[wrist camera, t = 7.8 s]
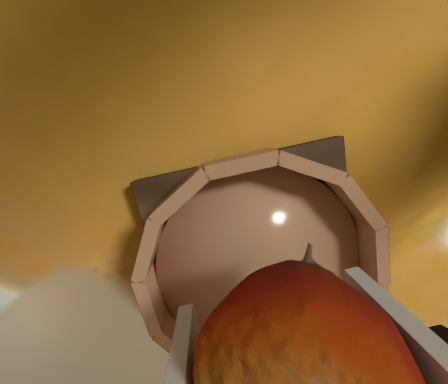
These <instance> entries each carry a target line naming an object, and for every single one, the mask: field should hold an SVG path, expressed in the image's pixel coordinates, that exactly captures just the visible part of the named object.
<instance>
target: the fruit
mask: <svg viewBox="0 0 448 384" xmlns="http://www.w3.org/2000/svg"><path fill="white" fill-rule="evenodd" d="M312 247H313V244H312V245H310V243H308V244H307V249H306V253H305V255H304V259H302V260H301V261H296V260H286V261H282V262H279V263H275V264H272V265H269V266H266V267H263V268H261V269H258V270H256V271H254V272H253V273H251V274H249V275H248V276H247V277H246V278H245V279H243V280H242V281H241V282H240V283H239V284H238V285H237V286H235V287H234V288H233V289H232V290H231V292H230V293H229V294H228V295H227V296H226V297H225V298H224V299H223V300H222V301H221V302H220V303H219V304H218V305H217V307H216V308H215V309H214V310H213V311H212V312H211V314H210V315H209V317H208V318H207V320H206V322H205V323H204V325H203V327H202V328H201V330H200V332H199V335H198V338H197V342H196V348H195V354H194V363H193V372H192V375H193V381H194V384H427V383H426V381H425V379H424V377H423V375H422V373H421V371H420V370H419V368H418V366H417V364H416V362H415V360H414V358H413V356H412V354H411V352H410V350H409V348H408V346H407V344H406V342H405V340H404V339H403V337H402V335H401V333H400V332H399V330H398V328H397V327H396V325H395V323H394V322H393V321H392V320H391V318H390V317H389V316H388V315H387V314H386V312H385V311H384V310H383V309H382V308H381V307H380V306H379V305H377V304H376V303H375V302H373V301H372V300H371V299H369V298H368V297H367V296H365V295H364V294H362V293H361V292H359V291H358V290H356V289H355V288H354V287H352V286H351V285H349V284H348V283H346V282H345V281H343V280H342V279H340V278H339V277H337V276H336V275H335V274H334V273H333V272H331V271H330V270H327V269H325V268H323V267H322V266H321V265H319V264H318V263H317V262H315V261H314V259H313V258H312Z"/></svg>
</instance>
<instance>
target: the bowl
mask: <svg viewBox="0 0 448 384" xmlns="http://www.w3.org/2000/svg"><path fill="white" fill-rule="evenodd" d="M311 176H312V177H315V178H318V179H320V180H321V181H322V182H323V183H324V184H323V183H321V182H319V181H318V180H316V179H314V178H312V177H311ZM169 217H170V218H169ZM168 218H169V220H168V221H167V223H166V225H165V222H166V220H167V219H168ZM386 225H387V222H386V221H385V220H384V219H383V217H382V216H381V215H380V213H379V212H378V211H377V209H376V208H375V207H374V205H373V204H372V203H371V201H370V200H369V199H368V197H367V196H366V195H365V193H364V192H363V191H362V189H361V188H360V187H359V185H358V184H357V183H356V181H355V180H354V179H353V178H352V176H351V175H350V174H348V173H347V172H344V171H341V170H338V169H335V168H332V167H329V166H326V165H323V164H320V163H317V162H314V161H311V160H308V159H305V158H302V157H299V156H296V155H293V154H290V153H287V152H284V151H282V150H276V149H271V148H265V149H260V150H256V151H251V152H247V153H242V154H238V155H233V156H229V157H224V158H220V159H215V160H210V161H206V162H205V164H204V163H202V164H201V165H200V166H199V167H198V168H197V169H196V170H195V171H194V172H193V173H191V174H190V175H189V176H188V177H187V178H186V179H185V180H184V181H183V182H182V183H181V184H180V185H179V186H177V187H176V188H175V189H174V190H173V191H172V192H171V193H170V194H169V195H168V196H167V197H166V198H164V199H163V200H162V201H161V202H160V203H159V204H158V205H157V207H156V208H155V209H154V210H153V212H152V213H151V214H150V215H149V217H148V218H147V220H146V224H145V228H144V232H143V235H142V239H141V243H140V247H139V251H138V254H137V258H136V262H135V266H134V270H133V274H132V277H131V281H132V282H131V286H132V288H133V291H134V294H135V297H136V299H137V302H138V305H139V308H140V310H141V313H142V316H143V319H144V321H145V324H146V327H147V330H148V332H149V335H150V337H152V340H153V341H155V342H156V343H157V344H159V345H160V346H161V347H162V348H164V349H165V350H166V351H167V352H169V353H170V350H171V345H172V340H173V335H174V329H175V324H176V319H177V314H178V309H179V306H183V305H188V304H192V303H193V305H194V308H195V312H196V315H197V319H198V322H199V325H200V329H201V328H202V327H203V325H204V323H205V322H206V320H207V318H208V317H209V315H210V314H211V312H212V311H213V310H214V309H215V308H216V307H217V305H218V304H219V303H220V302H221V301H222V300H223V299H224V298H225V297H226V296H227V295H228V294H229V293H230V292H231V290H232V289H233V288H234V287H235V286H237V285H238V284H239V283H240V282H241V281H242V280H243V279H245V278H246V277H247V276H248V275H249V274H251V273H253V272H254V271H256V270H258V269H261V268H263V267H266V266H269V265H272V264H275V263H279V262H282V261H286V260H296V261H301V260H302V259H304V255H305V253H306V249H307V244H308V243H310V245H312V244H313V247H312V258H313V259H314V261H315V262H317V263H318V264H319V265H321V266H322V267H323V268H325V269H327V270H330V271H331V272H333V273H334V274H335V275H336V276H337V277H339V278H340V279H342V280H343V281H345V274H344V270H345V269H349V268H354V267H359V268H361V269H362V270H363V271H364V272H365V273H366V274H367V275H369V276H370V277H371V278H372V279H373V280H374V281H376V282H377V283H378V284H379V285H380V286H381V287H382V288H384V289H385V290H386V291H388V289H389V287H390V286H389V285H388V284H391V281H390V253H389V227H388V226H386ZM164 226H165V227H164ZM155 258H156V262H155Z"/></svg>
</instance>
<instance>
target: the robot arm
mask: <svg viewBox="0 0 448 384" xmlns="http://www.w3.org/2000/svg"><path fill="white" fill-rule="evenodd" d="M344 274H345V282H346V283H348V284H349V285H351V286H352V287H354V288H355V289H356V290H358V291H359V292H361V293H362V294H364V295H365V296H367V297H368V298H369V299H371V300H372V301H373V302H375V303H376V304H377V305H379V306H380V307H381V308H382V309H383V310H384V311H385V312H386V314H387V315H388V316H389V317H390V318H391V320H392V321H393V322H394V323H395V325H396V327H397V328H398V330H399V332H400V333H401V335H402V337H403V339H404V340H405V342H406V344H407V346H408V348H409V350H410V352H411V354H412V356H413V358H414V360H415V362H416V364H417V366H418V368H419V370H420V371H421V373H422V375H423V377H424V379H425V381H426V383H427V384H448V328H446V327H444V326H442V325H436V326H432V327H427V326H426V325H425V324H424V323H423V322H422V321H420V320H419V319H418V318H417V317H416V316H415V315H413V314H412V313H411V312H410V311H409V310H408V309H407V308H405V307H404V306H403V305H402V304H401V303H400V302H399V301H397V300H396V299H395V298H394V297H393V296H392V295H390V294H389V293H388V292H387V291H386V290H385V289H384V288H382V287H381V286H380V285H379V284H378V283H377V282H376V281H374V280H373V279H372V278H371V277H370V276H369V275H367V274H366V273H365V272H364V271H363V270H362V269H361V268H359V267H354V268H349V269H345V270H344ZM200 330H201V329H200V325H199V322H198V319H197V315H196V312H195V308H194V305H193V303H192V304H188V305H183V306H179V309H178V314H177V319H176V324H175V329H174V335H173V340H172V345H171V350H170V355H169V361H168V366H167V371H166V377H165V381H164V384H194V381H193V375H192V372H193V363H194V354H195V348H196V342H197V338H198V335H199V332H200Z"/></svg>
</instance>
